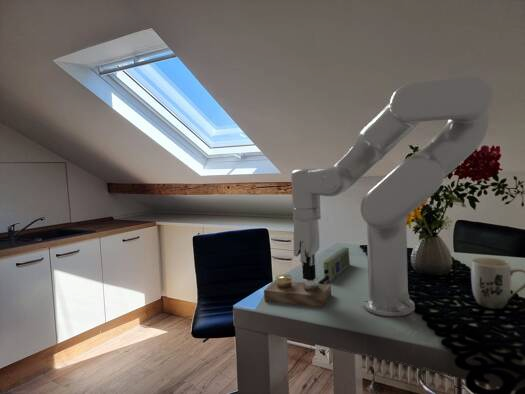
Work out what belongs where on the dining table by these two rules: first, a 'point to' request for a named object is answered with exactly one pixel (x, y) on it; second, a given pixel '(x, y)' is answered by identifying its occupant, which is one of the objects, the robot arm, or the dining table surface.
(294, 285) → the panel
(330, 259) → the handheld radio
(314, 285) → the steel knob
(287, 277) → the brass knob
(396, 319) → the dining table surface
